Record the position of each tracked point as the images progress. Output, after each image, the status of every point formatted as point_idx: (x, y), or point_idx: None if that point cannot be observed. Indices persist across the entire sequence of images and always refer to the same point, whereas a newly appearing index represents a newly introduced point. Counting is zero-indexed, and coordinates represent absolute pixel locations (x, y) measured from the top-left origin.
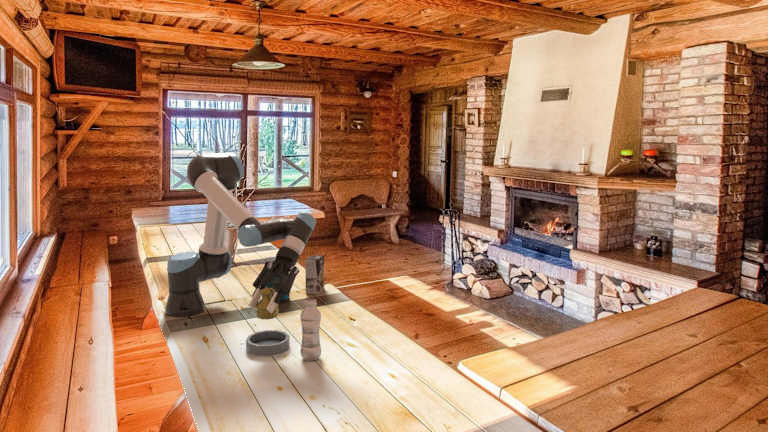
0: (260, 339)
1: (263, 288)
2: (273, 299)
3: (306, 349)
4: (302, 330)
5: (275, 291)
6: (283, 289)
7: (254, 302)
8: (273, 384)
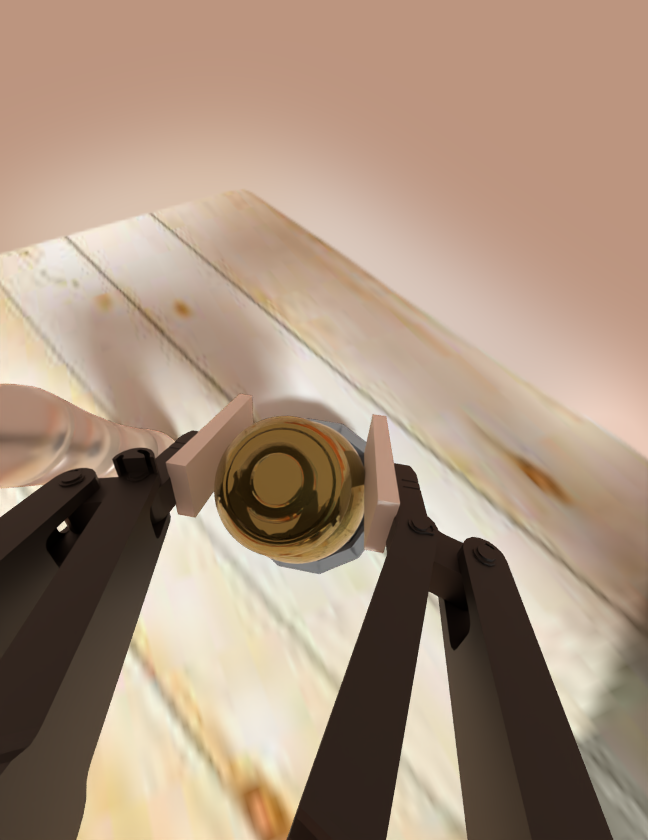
0: (362, 522)
1: (312, 474)
2: (205, 429)
3: (138, 428)
4: (108, 423)
5: None
6: (82, 482)
7: (368, 449)
8: (202, 317)
